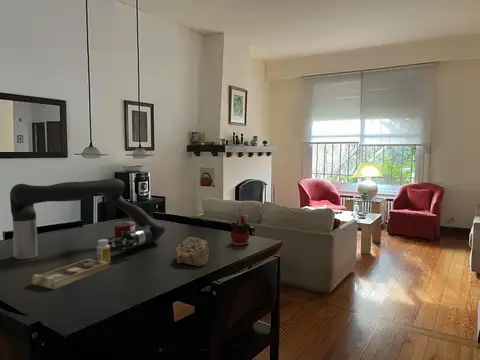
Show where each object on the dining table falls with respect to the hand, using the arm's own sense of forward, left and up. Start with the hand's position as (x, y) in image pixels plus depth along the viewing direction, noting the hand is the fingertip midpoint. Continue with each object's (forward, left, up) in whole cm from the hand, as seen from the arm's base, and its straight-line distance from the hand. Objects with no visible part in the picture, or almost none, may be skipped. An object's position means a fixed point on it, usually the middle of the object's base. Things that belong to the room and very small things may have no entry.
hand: (108, 246), depth 167 cm
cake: (+40, +51, -6) cm, 65 cm away
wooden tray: (+2, -21, -6) cm, 22 cm away
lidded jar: (-24, +37, -6) cm, 44 cm away
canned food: (-13, +23, -6) cm, 27 cm away
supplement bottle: (0, -3, -6) cm, 7 cm away
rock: (+33, +17, -6) cm, 37 cm away
